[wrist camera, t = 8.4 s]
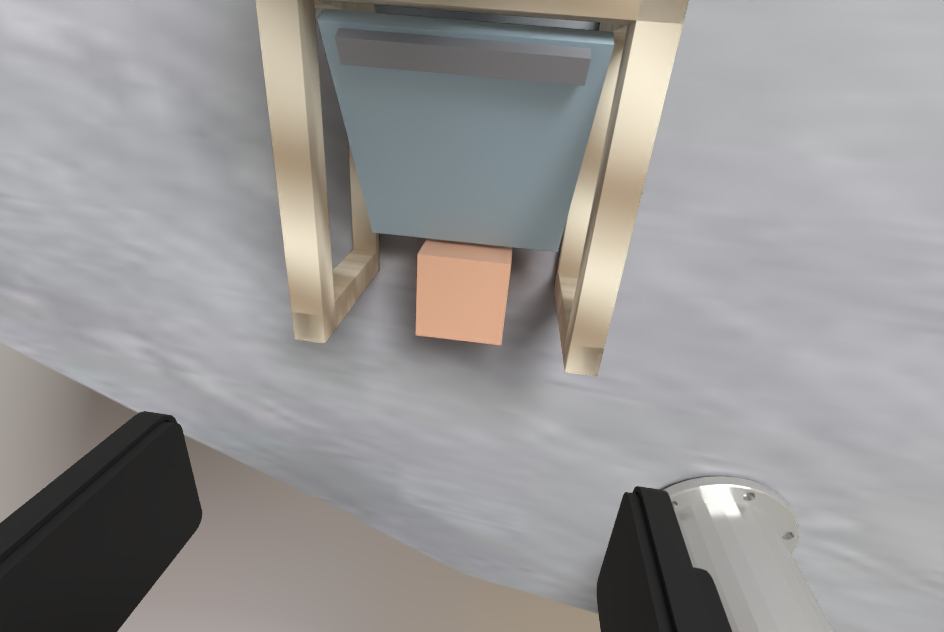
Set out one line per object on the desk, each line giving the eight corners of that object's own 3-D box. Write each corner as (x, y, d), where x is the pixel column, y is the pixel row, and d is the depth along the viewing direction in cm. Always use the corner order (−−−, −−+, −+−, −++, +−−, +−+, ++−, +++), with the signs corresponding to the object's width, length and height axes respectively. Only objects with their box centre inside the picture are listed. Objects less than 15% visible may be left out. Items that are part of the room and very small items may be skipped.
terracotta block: (513, 235, 29) (504, 307, 31) (433, 226, 29) (430, 298, 32) (511, 264, 25) (501, 345, 27) (417, 254, 25) (415, 335, 27)
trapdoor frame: (577, 292, 30) (597, 376, 22) (357, 267, 31) (295, 339, 23) (634, 6, 23) (696, -33, 15) (345, -16, 24) (247, -65, 15)
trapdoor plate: (558, 240, 26) (557, 260, 26) (375, 221, 27) (370, 240, 26) (613, 31, 17) (614, 54, 16) (323, 8, 17) (311, 29, 16)
